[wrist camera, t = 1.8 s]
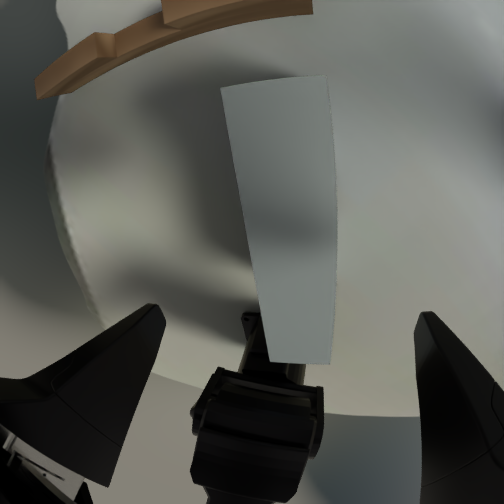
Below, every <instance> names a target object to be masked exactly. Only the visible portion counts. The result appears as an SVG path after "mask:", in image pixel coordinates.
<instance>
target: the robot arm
mask: <svg viewBox="0 0 504 504" xmlns="http://www.w3.org/2000/svg"><path fill="white" fill-rule="evenodd" d="M241 320H242V324H243V328H244V331H245V335H246V339H247V344H246V347H245V351H244V354H243V357H242V360H241V363H240V366H239V369H238V372H234V371H230V370H226V369H225V368H222V367H218V368H217V369H216V371H215V373H214V374H212V376H211V378H210V379H209V381H208V383H207V385H206V387H205V389H204V390H203V392H202V394H201V396H200V398H199V399H198V401H197V402H196V403H195V405H194V406H193V407H192V408H191V410H190V415H191V417H192V419H193V424H192V433H193V435H195V436H198V437H197V442H196V447H195V451H194V456H193V461H192V465H191V468H190V473H191V477H192V480H193V482H194V484H198V485H201V486H203V488H204V490H205V492H206V493H207V496H208V499H207V503H206V504H274V503H275V502H279V503H286V502H288V501H289V500H290V499H291V498H292V497H293V496H294V495H295V493H296V492H297V488H298V485H299V483H300V480H301V477H302V474H303V471H304V468H305V466H306V463H307V460H308V459H314V457H315V456H316V454H317V452H318V450H319V447H320V444H321V440H322V435H323V429H324V391H323V387H320V386H316V387H313V386H306V385H303V384H304V376H305V369H306V364H298V363H281V362H270V359H269V354H268V348H267V343H266V337H265V332H264V327H263V321H262V316H261V313H247V312H246V313H243V314H242V317H241ZM165 327H166V319H165V317H164V315H163V313H162V311H161V309H160V307H159V305H157V304H152V303H148V304H146V305H144V306H143V307H141V308H140V309H138V310H136V311H135V312H133V313H132V314H130V315H129V316H127V317H125V318H124V319H122V320H121V321H119V322H118V323H116V324H115V325H113V326H111V327H110V328H108V329H107V330H105V331H104V332H102V333H101V334H99V335H97V336H96V337H94V338H93V339H91V340H90V341H88V342H87V343H85V344H83V345H82V346H81V347H79V348H77V349H76V350H74V351H73V352H71V353H70V354H68V355H66V356H65V357H63V358H62V359H60V360H58V361H57V362H55V363H53V364H51V365H50V366H48V367H46V368H44V369H42V370H41V371H39V372H37V373H35V374H33V375H31V376H29V377H27V378H24V379H9V378H1V377H0V504H93V501H92V499H91V496H90V492H89V490H88V486H87V483H86V482H84V479H85V478H87V479H89V480H91V481H93V482H96V483H98V484H100V485H103V486H105V487H107V488H108V487H109V485H110V482H111V479H112V476H113V473H114V470H115V467H116V464H117V461H118V458H119V455H120V452H121V449H122V446H123V443H124V440H125V437H126V434H127V432H128V429H129V427H130V423H131V421H132V418H133V416H134V413H135V410H136V408H137V405H138V403H139V400H140V397H141V394H142V392H143V390H144V387H145V385H146V382H147V380H148V377H149V375H150V372H151V370H152V367H153V365H154V362H155V360H156V357H157V353H158V350H159V347H160V343H161V340H162V337H163V334H164V330H165ZM414 345H415V363H416V381H417V389H418V398H419V408H420V419H421V420H420V421H421V440H422V477H421V495H420V504H504V391H503V390H502V388H501V387H500V386H499V385H498V383H497V382H496V381H495V380H494V379H493V377H492V376H491V375H490V374H489V372H488V371H487V370H486V369H485V368H484V366H483V365H482V364H481V363H480V362H479V361H478V359H477V358H476V357H475V356H474V355H473V354H472V353H471V351H470V350H469V349H468V348H467V347H466V346H465V345H464V344H463V342H462V341H461V340H460V339H459V338H458V337H457V336H456V335H455V334H454V333H453V332H452V331H451V330H450V329H449V327H448V326H447V325H446V324H445V323H444V322H443V321H442V320H441V319H440V318H439V317H438V316H437V315H436V314H435V313H434V312H432V311H426V312H421V313H420V315H419V318H418V321H417V324H416V327H415V330H414Z"/></svg>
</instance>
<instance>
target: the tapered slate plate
mask: <svg viewBox="0 0 504 504" xmlns="http://www.w3.org/2000/svg"><path fill="white" fill-rule="evenodd" d="M220 90H221V96H222V101H223V107H224V112H225V118H226V123H227V129H228V135H229V140H230V146H231V151H232V157H233V162H234V168H235V173H236V179H237V184H238V190H239V195H240V201H241V206H242V212H243V217H244V223H245V228H246V234H247V239H248V245H249V250H250V256H251V261H252V267H253V272H254V278H255V283H256V289H257V294H258V299H259V305H260V310H261V316H262V321H263V327H264V332H265V337H266V343H267V348H268V354H269V359H270V362H281V363H298V364H330V361H331V351H332V341H333V329H334V316H335V300H336V279H337V189H336V168H335V152H334V139H333V128H332V118H331V108H330V100H329V92H328V84H327V77H326V75H315V76H300V77H288V78H279V79H270V80H263V81H256V82H250V83H243V84H238V85H232V86H227V87H222V88H220Z"/></svg>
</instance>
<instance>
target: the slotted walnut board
mask: <svg viewBox="0 0 504 504" xmlns="http://www.w3.org/2000/svg"><path fill="white" fill-rule="evenodd" d="M161 3H162V10H163V11H161V12H158V13H156V14H154V15H152V16H149V17H147V18H145V19H143V20H141V21H139V22H137V23H135V24H133V25H131V26H129V27H127V28H125V29H123V30H121V31H119V32H117V33H115V34H107V33H97V32H94V33H93V34H91V35H90V36H88V37H87V38H85V39H84V40H82V41H81V42H79V43H78V44H77V45H75V46H74V47H73V48H71V49H70V50H69V51H67V52H66V53H65V54H63V55H62V56H61V57H59V58H58V59H57V60H56V61H55V62H53V63H52V64H51V65H50V66H49V67H47V68H46V69H45V70H44V71H43V72H42V73H41V74H40V75H38V76H37V77H36V78H35V89H36V96H37V100H40V99H44V98H48V97H52V96H57V95H62V94H67V93H72V92H73V91H75V90H76V89H78V88H80V87H81V86H83V85H85V84H86V83H88V82H90V81H91V80H93V79H95V78H97V77H98V76H100V75H102V74H104V73H106V72H108V71H109V70H111V69H113V68H115V67H117V66H119V65H121V64H123V63H125V62H127V61H130V60H132V59H134V58H136V57H138V56H141V55H143V54H145V53H148V52H150V51H152V50H155V49H157V48H160V47H163V46H165V45H168V44H171V43H173V42H176V41H179V40H182V39H185V38H188V37H191V36H194V35H198V34H201V33H204V32H208V31H212V30H215V29H219V28H223V27H228V26H232V25H236V24H241V23H246V22H252V21H257V20H263V19H270V18H277V17H286V16H296V15H309V14H313V7H312V0H161Z"/></svg>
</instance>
